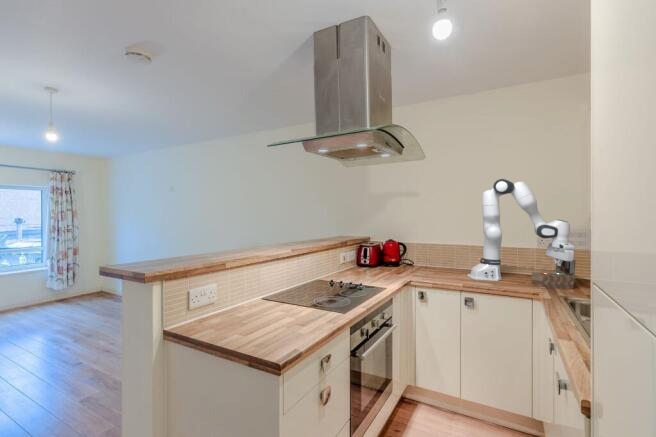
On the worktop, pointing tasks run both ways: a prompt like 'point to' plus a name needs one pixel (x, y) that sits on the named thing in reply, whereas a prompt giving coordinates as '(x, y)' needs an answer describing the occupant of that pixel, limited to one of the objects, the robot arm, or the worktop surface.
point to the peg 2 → (558, 273)
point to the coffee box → (567, 268)
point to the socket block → (553, 281)
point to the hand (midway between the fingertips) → (557, 265)
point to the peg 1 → (546, 273)
